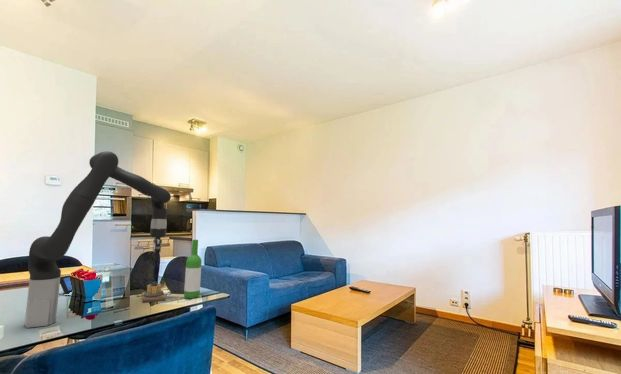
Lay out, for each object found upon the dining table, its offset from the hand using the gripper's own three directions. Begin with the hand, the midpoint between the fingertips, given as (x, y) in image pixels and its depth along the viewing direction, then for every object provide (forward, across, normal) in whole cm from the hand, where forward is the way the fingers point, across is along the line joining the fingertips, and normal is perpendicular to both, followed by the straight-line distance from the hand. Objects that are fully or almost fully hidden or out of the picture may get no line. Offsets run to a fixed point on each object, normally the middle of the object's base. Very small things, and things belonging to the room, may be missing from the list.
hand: (156, 258), depth 161 cm
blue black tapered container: (+20, -26, -34) cm, 47 cm away
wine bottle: (+20, +5, +18) cm, 28 cm away
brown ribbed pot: (+17, 0, 0) cm, 17 cm away
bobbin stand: (+20, 0, 0) cm, 20 cm away
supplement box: (+20, -6, -28) cm, 35 cm away
